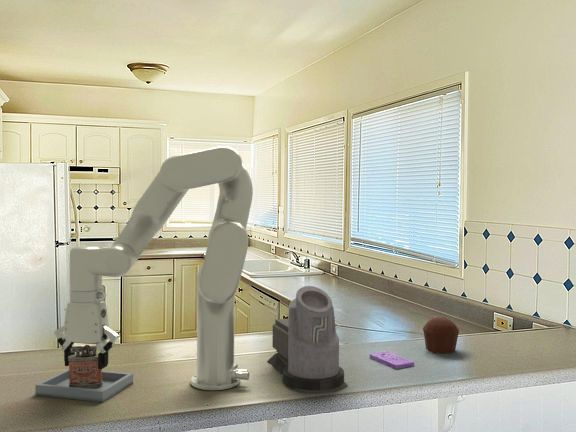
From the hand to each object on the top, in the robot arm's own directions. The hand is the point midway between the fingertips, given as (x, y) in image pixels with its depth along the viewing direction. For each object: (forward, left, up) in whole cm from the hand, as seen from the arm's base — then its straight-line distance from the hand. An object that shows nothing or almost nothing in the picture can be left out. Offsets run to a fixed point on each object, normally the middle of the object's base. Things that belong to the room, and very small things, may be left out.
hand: (86, 366), depth 139 cm
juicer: (-50, -26, -6) cm, 56 cm away
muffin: (-86, -62, -6) cm, 106 cm away
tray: (0, 0, -6) cm, 6 cm away
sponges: (-72, -44, -6) cm, 85 cm away
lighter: (0, 0, -5) cm, 5 cm away
